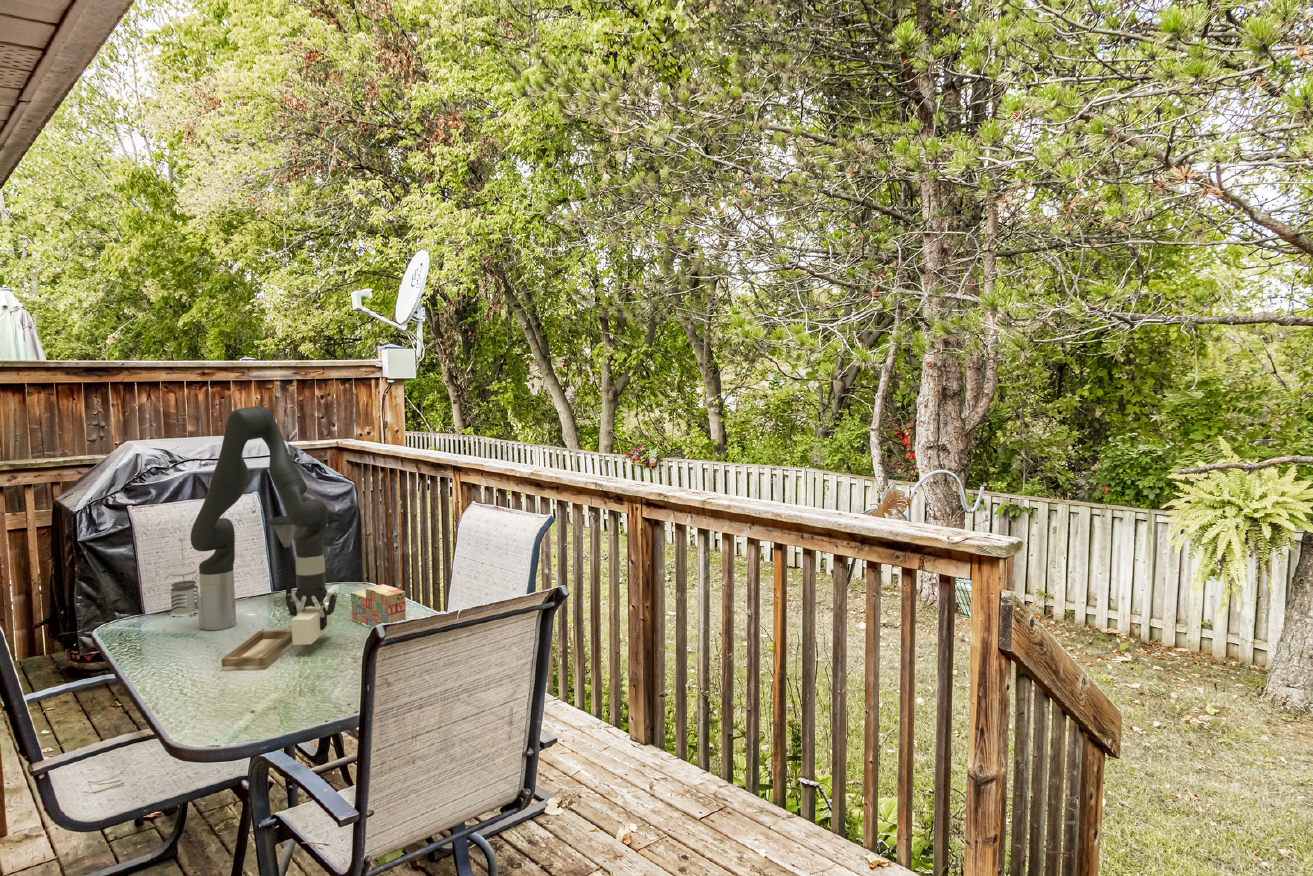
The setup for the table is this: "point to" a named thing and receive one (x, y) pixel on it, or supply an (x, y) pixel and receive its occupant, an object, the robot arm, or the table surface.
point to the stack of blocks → (378, 605)
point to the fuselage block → (308, 626)
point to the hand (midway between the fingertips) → (312, 629)
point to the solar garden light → (285, 543)
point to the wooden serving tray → (258, 651)
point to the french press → (184, 590)
